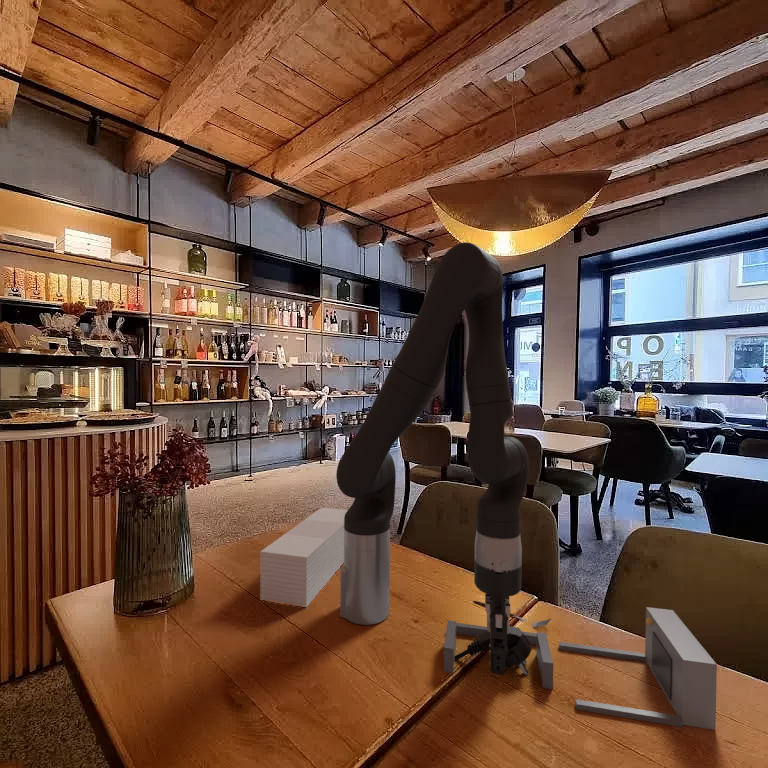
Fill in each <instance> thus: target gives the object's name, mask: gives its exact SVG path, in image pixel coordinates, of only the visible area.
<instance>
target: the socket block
mask: <svg viewBox="0 0 768 768" xmlns="http://www.w3.org/2000/svg"><path fill="white" fill-rule="evenodd" d="M558 648H559V650H560V651H566V652H567V651H568V652H575V653H581V654H589V655H594V656H603V657H610V658H616V659H623V660H630V661H631V660H632V661H639V662H644V663H645V662H646V664H647V666H648V667H649V669H650V671H651V672H652V674H653V676H654V678H655V681H656V682H657V683H658V685H659V687H660V689H661V690H662V692H663V694H664V695H665V697H666V699H667V702H668V703H669V704H670V706H671V707H672V709H673V711H674V714H671V713H670V714H669V713H664V712H658V711H652V710H645V709H638V708H634V707H628V706H621V705H614V704H609V703H602V702H597V701H596V702H595V701H590V700H582V699H578V698H575V699H574V700H575V703H574V705H575V708H576V710H577V711H584V712H589V713H596V714H601V715H606V716H613V717H620V718H625V719H631V720H637V721H643V722H648V723H656V724H662V725H666V726H673V727H679V728H680V727H681V728H683V727H684V726H689V727H695V728H701V729H707V730H713V731H716V726H717V725H716V722H717V720H716V715H717V681H718V680H717V679H718V678H717V674H718V673H717V671H718V670H717V669H718V664H717V662H715V661H714V659H713V658H712V657H711V655H710V654H709V653H708V652H707V650H706V649H705V648H704V647H703V646H702V644H701V643H700V642H699V641H698V639H697V638H696V637H695V636H694V634H693V633H692V632H691V631H690V629H689V628H688V627H687V625H685V624H684V622H683V621H682V619H681V618H680V617H679V616H678V614H677V613H676V612H675V611H674V610H673V609H667V608H666V609H665V608H657V607H648V606H645V647H644V650H645V651H644V652H645V653H643V652H638V651H629V650H628V651H627V650H623V649H615V648H606V647H600V646H599V647H598V646H592V645H586V644H585V645H584V644H577V643H570V642H563V641H559V642H558Z"/></svg>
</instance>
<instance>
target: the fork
mask: <svg viewBox="0 0 768 768" xmlns="http://www.w3.org/2000/svg"><path fill="white" fill-rule="evenodd" d="M472 602H473V603H475V604H477V605H479V606H482V607H484V608H485V602H481V601H478V600H472ZM511 616H514V617H513V618H515V619H518V620H520V622H523V623H525V622H526V621H527V619H526V618H523V617H519V616H518V615H515V614H513V613H511V612H510V616H509V617H511ZM551 620H552V618H549V619H544V620H539V621H538V620H535V621H534V622H533V623H532V625H531V626H530V627H531V628H533V629H534V628H535V629H536V628H540V627H544V626H548V624H550V622H551Z"/></svg>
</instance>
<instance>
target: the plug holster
mask: <svg viewBox="0 0 768 768" xmlns="http://www.w3.org/2000/svg"><path fill="white" fill-rule="evenodd" d="M446 623H447V624H446V629H445V631H446V632H445V637H444V644H443V673H448V674H454V669H455V668H454V667H455V661H456V659H455V656H456V648H457V635H464V636H471V637H476V638H479V636H480V635H482V634H484V633H485V631H487V626H484V625H476V624H468V623H461V622H457V621H455V620H447V622H446ZM522 632H523V634H524V635H525V637H526V638H527V640H528V641H529V643H530V644H531V645H536V650H535V651H536V654H535V655H536V661H537V666H538V671H539V676H540V681H541V687H542V688H544V689H549V690H554V661H553V657H552V652H551V647H550V643H549V640H548V635H547V633H546V632H538V631H537V632H528V631H522Z"/></svg>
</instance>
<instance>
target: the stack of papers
mask: <svg viewBox="0 0 768 768" xmlns="http://www.w3.org/2000/svg"><path fill="white" fill-rule="evenodd" d="M347 511H348V509H340V508H331V507H320V508H319V509H317V510H316V511H315V512H313V513H312V514H311V515H309V516H308V517H306V518H305V519H303V520H302V521H301V522H299V523H298V524H296V525H295V526H294V527H293V528H291V529H290V530H288V531H287V532H285V533H284V534H283V535H281V536H280V537H278V538H277V539H276V540H274V541H273V542H271V543H270V544H269V545H268V546H266V547H264V548H263V549H262V550H261V551H260V553H259V554H260V555H259V557H260V558H259V559H260V561H259V563H260V565H259V567H260V568H259V569H260V572H259V574H260V577H259V578H260V579H259V581H260V582H259V583H260V584H259V591H260V592H259V601H260V600H268V601H274V602H280V603H287V604H292V605H297V606H302V607H307V606H308V605H309V604H310V602H311V601H312V600H313V599H314V598H315V596H316V595H317V594H318V593H319V591H320V590H321V589H322V588H323V587H324V586H325V585H326V583H327V582H328V581H329V580H330V578H331V577H332V576H333V575H334V574H335V572H336V571H337V570H338V569H339V568H340V566H341V565H342V564H343V563H344V516H345V514H346V512H347ZM340 569H341V568H340ZM340 569H339V570H340ZM335 575H336V574H335ZM335 575H334V576H335ZM330 581H331V580H330ZM330 581H329V582H330ZM329 582H328V583H329ZM326 586H327V585H326ZM326 586H325V587H326ZM325 587H324V588H325ZM324 588H323V589H324ZM323 589H322V590H323ZM319 594H320V593H319ZM319 594H318V595H319ZM318 595H317V596H318ZM315 599H316V598H315ZM315 599H314V600H315ZM314 600H313V601H314ZM313 601H312V602H313ZM312 602H311V603H312ZM310 605H311V604H310ZM310 605H309V606H310ZM309 606H308V607H309ZM308 607H307V608H308Z"/></svg>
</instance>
